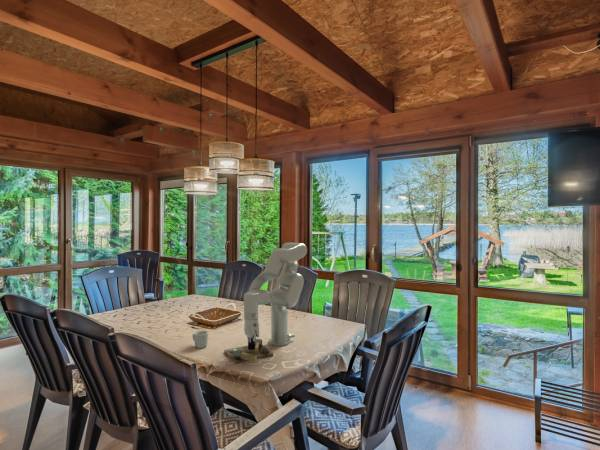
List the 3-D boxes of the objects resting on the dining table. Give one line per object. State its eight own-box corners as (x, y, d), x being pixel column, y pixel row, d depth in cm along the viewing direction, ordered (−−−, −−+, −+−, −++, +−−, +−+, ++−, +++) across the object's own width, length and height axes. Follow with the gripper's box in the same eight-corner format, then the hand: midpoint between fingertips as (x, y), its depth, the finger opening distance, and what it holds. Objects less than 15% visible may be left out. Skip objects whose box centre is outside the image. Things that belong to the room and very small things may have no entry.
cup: (187, 346, 201) (187, 332, 201) (198, 342, 208) (198, 328, 207) (200, 350, 195) (200, 336, 195) (211, 346, 202) (211, 332, 201)
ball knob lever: (254, 344, 198) (254, 339, 198) (262, 344, 199) (262, 339, 198) (252, 353, 185) (252, 347, 185) (260, 353, 185) (260, 347, 185)
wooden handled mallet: (231, 358, 179) (231, 352, 179) (237, 355, 183) (237, 349, 183) (253, 363, 173) (253, 357, 173) (258, 360, 176) (258, 354, 176)
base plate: (259, 345, 202) (259, 339, 202) (273, 355, 187) (273, 349, 186) (224, 352, 191) (224, 346, 191) (235, 364, 176) (235, 357, 176)
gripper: (263, 317, 185) (263, 352, 185) (251, 311, 198) (252, 343, 198) (250, 320, 181) (250, 355, 181) (239, 313, 194) (239, 346, 194)
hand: (251, 349), depth 190 cm, fingers closed
